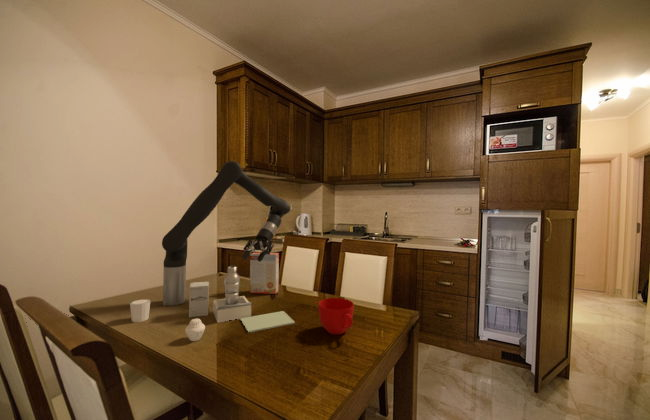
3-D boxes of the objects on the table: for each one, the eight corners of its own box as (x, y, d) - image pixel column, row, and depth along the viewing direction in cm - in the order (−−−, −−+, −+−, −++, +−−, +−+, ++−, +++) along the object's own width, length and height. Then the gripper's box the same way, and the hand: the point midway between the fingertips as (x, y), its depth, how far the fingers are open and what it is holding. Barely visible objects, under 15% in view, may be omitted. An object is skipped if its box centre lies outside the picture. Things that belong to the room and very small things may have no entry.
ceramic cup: (334, 347, 90) (334, 316, 90) (312, 327, 105) (312, 300, 105) (367, 338, 96) (367, 310, 96) (341, 321, 111) (342, 296, 111)
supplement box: (188, 318, 112) (188, 286, 112) (190, 311, 119) (190, 282, 119) (208, 315, 114) (208, 285, 114) (208, 309, 121) (209, 280, 121)
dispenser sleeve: (217, 322, 107) (217, 307, 107) (213, 311, 119) (213, 297, 119) (251, 317, 114) (251, 302, 114) (244, 307, 125) (244, 293, 125)
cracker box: (278, 291, 150) (279, 252, 150) (275, 294, 144) (276, 254, 144) (253, 290, 151) (254, 251, 151) (249, 293, 145) (250, 253, 145)
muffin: (206, 334, 98) (207, 314, 98) (203, 342, 92) (203, 321, 92) (187, 335, 96) (188, 315, 96) (182, 344, 90) (182, 322, 90)
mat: (248, 332, 99) (248, 331, 99) (240, 319, 111) (240, 318, 111) (294, 323, 108) (294, 321, 108) (283, 312, 119) (283, 310, 119)
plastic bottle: (243, 312, 118) (243, 265, 118) (233, 318, 112) (233, 269, 112) (230, 310, 120) (231, 264, 120) (219, 316, 114) (220, 267, 114)
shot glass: (154, 317, 112) (154, 300, 112) (136, 324, 105) (136, 305, 105) (143, 314, 115) (143, 297, 114) (125, 320, 108) (125, 302, 108)
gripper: (252, 227, 138) (235, 253, 127) (275, 228, 131) (259, 256, 121) (259, 236, 142) (243, 263, 132) (282, 238, 136) (267, 266, 126)
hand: (251, 259), depth 127 cm, fingers open, 8 cm apart
